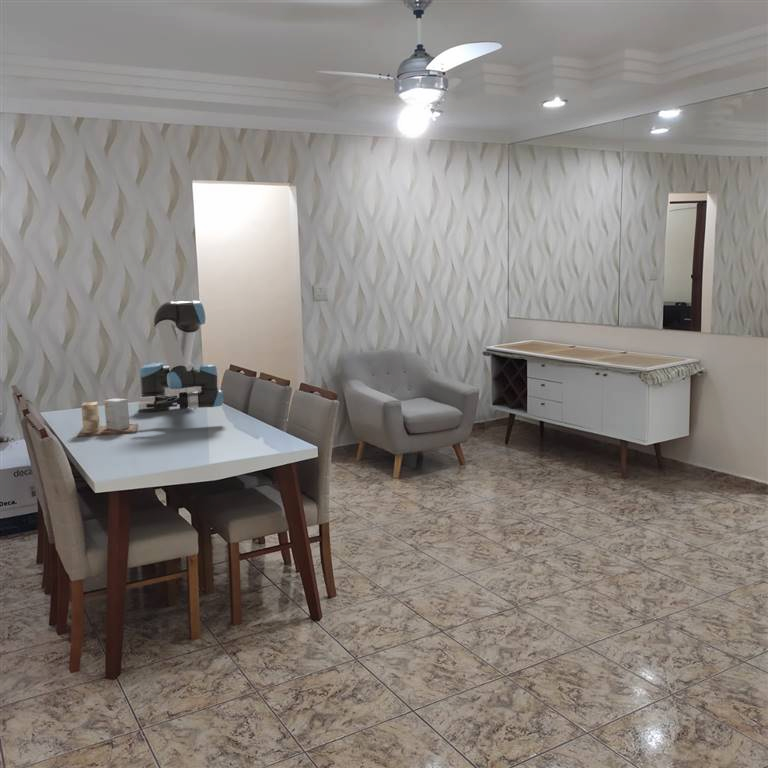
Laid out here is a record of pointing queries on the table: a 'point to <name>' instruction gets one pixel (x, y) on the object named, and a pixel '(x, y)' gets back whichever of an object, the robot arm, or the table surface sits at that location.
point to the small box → (117, 414)
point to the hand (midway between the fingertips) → (139, 403)
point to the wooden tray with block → (98, 423)
